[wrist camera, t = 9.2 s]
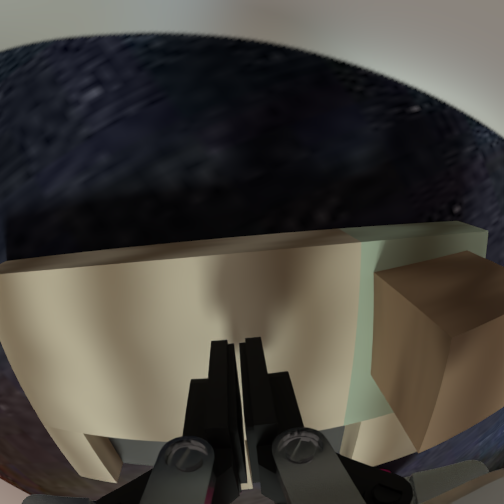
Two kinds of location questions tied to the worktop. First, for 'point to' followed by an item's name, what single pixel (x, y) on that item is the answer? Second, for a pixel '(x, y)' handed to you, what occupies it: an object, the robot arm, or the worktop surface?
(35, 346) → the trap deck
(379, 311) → the walnut block
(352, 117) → the worktop surface
